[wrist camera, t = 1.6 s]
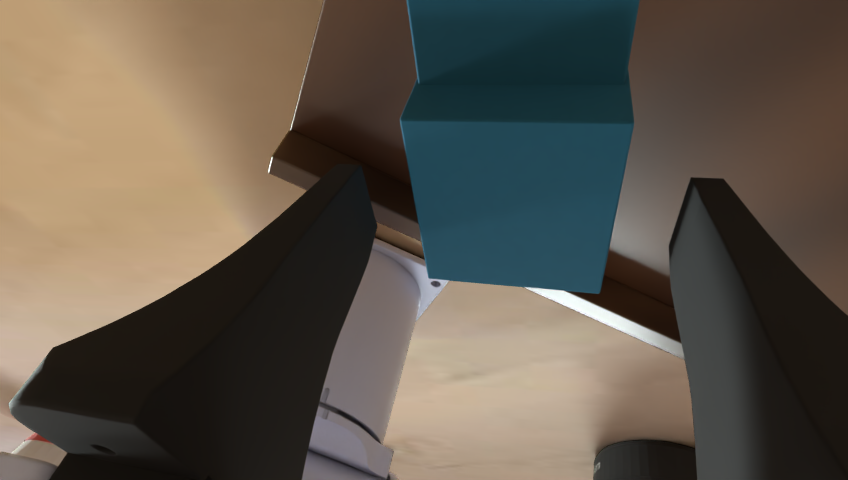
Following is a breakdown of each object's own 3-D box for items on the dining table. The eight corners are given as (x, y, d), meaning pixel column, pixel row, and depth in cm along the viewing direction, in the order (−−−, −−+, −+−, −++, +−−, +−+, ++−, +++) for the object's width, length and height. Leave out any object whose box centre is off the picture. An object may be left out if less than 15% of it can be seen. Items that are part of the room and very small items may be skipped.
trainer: (600, 181, 16) (603, 297, 13) (452, 175, 17) (424, 281, 14) (651, -132, 10) (678, -55, 7) (423, -111, 11) (364, -36, 8)
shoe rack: (1091, 70, 14) (1264, 201, 11) (736, 284, 23) (764, 396, 19) (455, -346, 11) (392, -363, 8) (324, 84, 20) (266, 173, 16)
